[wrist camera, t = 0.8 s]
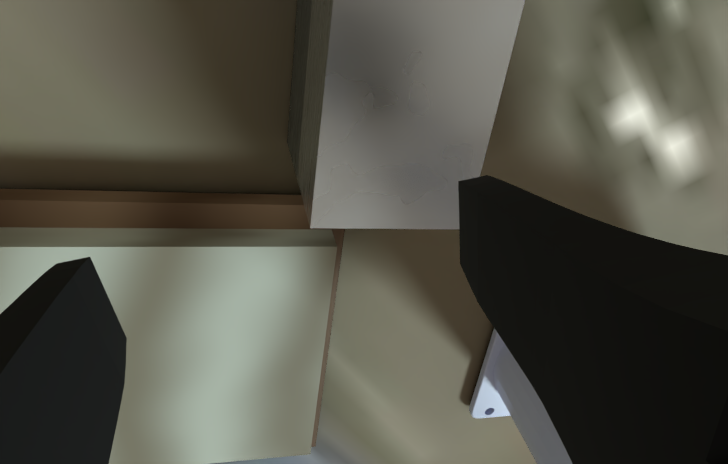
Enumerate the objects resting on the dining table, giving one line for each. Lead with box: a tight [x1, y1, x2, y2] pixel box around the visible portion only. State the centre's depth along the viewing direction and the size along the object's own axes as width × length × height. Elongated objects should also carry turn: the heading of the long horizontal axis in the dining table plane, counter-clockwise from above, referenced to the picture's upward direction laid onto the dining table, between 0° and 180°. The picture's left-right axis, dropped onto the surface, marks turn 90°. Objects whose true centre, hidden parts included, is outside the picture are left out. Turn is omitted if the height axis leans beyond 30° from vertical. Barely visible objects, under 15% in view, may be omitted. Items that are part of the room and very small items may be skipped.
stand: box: [0, 189, 345, 464], centre depth 22 cm, size 14×13×2 cm
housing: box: [287, 0, 525, 229], centre depth 16 cm, size 4×9×6 cm, turn 170°
